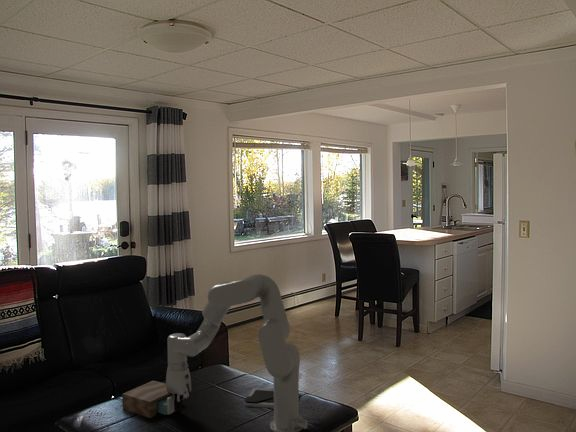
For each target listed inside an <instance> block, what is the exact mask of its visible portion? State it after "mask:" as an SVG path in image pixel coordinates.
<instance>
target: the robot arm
mask: <svg viewBox="0 0 576 432" xmlns="http://www.w3.org/2000/svg"><path fill="white" fill-rule="evenodd" d="M257 298H259V300H260V310H261V314H262V317H263V321H264V322H263V324H262V325H261V326H260V328H259V330H258V341H259V342H258V344H259V347H260V351H261V355H262V357H263V362H264V365H265V368H266V370H267V372H268V374H269V375H270V376H271V377H273V380H272V381H273V389H274V408H273V420H271V421H270V423H269V429H270V430H271V431H272V432H300V431H302V430H303V429H304V430H306V429H308V420H303V419H302V414H299V413H300V412H299V411H300V410H299V409H300V405H299V404H300V403H299V402H300V401H299V398H300V397H299V395H300V391H299V390H300V389H299V386H300V385H299V383H300V382H299V379H300V378H299V376H300V374H299V373H300V361H301V360H300V359H301V358H300V351H299V350H298V348H297V346H296V345H294V344H293V343H290V342H286V340H287V338H288V337H289V335H290V333H291V328H290V324H289V321H288V316H287V312H286V309H285V306H284V302H283V299H282V295H281V292H280V289H279V286H278V285H277V283H276V282H275V281H274V279H272V278H271V277H269V276H268V275H264V274H260V273H257V274H252V275H249V276H247V277H245V278H243V279H240V280H236V281H221V282H220V283H217V284H215V285H213V286H212V287H210V289H209V290H208V292H207V302H206V304H205V306H204V307H203V309H202V311H201V313H202V317H203V320H202V322H201V324H200V326H199V328H198V329H197V330H196V332H195V333H193V334H191V335H189V336H187V335H186V334H185V333H181V332H180V333H179V332H176V333H172V334H170V335H168V337H167V369H166V374H165V375H166V377H165V384H166V390H167V392H168V393H169V394H170V395H171V396H172V398H173V401H174V411H175V412H179V411H182V410H183V408H184V407H183V404H184V403H183V401H184V399H188V398H189V397H190V393H191V392H192V379H191V373H190V369H189V364H188V357H195V356H197V355H198V354H199V353H201V352H202V351H204V350H205V349H207V348H208V347H209V345H210V344H211V343H212V341H213V340H214V339H215V337H216V335H217V333H218V331H219V330H220V326H221V323H222V322H223V320H224V318H225V316H226V315H227V314H228V311H229V310H230V308H231V307H232V306H236V305H242V304H246V303H249V302H250V303H251V302H252V301H254V300H255V299H257Z"/></svg>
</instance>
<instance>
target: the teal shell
mask: <svg viewBox="0 0 576 432" xmlns="http://www.w3.org/2000/svg"><path fill="white" fill-rule="evenodd" d="M156 408H157V414H161V415H164V416H166V415H171V414H173V413H174V401H173V398H172V396H170V397H169V396H166V397H164V398H162V399H160V400H158V401H156Z"/></svg>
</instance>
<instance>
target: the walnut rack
mask: <svg viewBox="0 0 576 432" xmlns="http://www.w3.org/2000/svg"><path fill="white" fill-rule="evenodd" d="M121 395H122V398H121V399H122V401H121V402H122V410H125V411H127V412H129V413H134V414H135V415H136V414H137V415H139V416H142V417H146V418H149V419H150V418H153V417H155V416H157V414H158V413H157V408H156V401H158V400H160V399H162V398H164V397H166V396H169V397H170V396H171V395H170V394H169V393H168V392H167V390H166V382H160V381H156V380H151V381H149V382H146V383H145V384H142V385H139V386H137V387H135V388H133V389H131V390H128V391H126V392H124V393H122V394H121Z"/></svg>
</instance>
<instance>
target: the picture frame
mask: <svg viewBox="0 0 576 432" xmlns="http://www.w3.org/2000/svg"><path fill="white" fill-rule="evenodd" d="M243 406H244V407H249V406H250V407H249V408H251V407H252V408H264V409H266V408H269V409H274V388H273V389H271V388H269V389H268V388H259V387H257V388H256V387H255V388H254V387H253V388H252V390H251V391H250V393H249V394H248V396H246V397H245V399H244V400H243Z"/></svg>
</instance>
